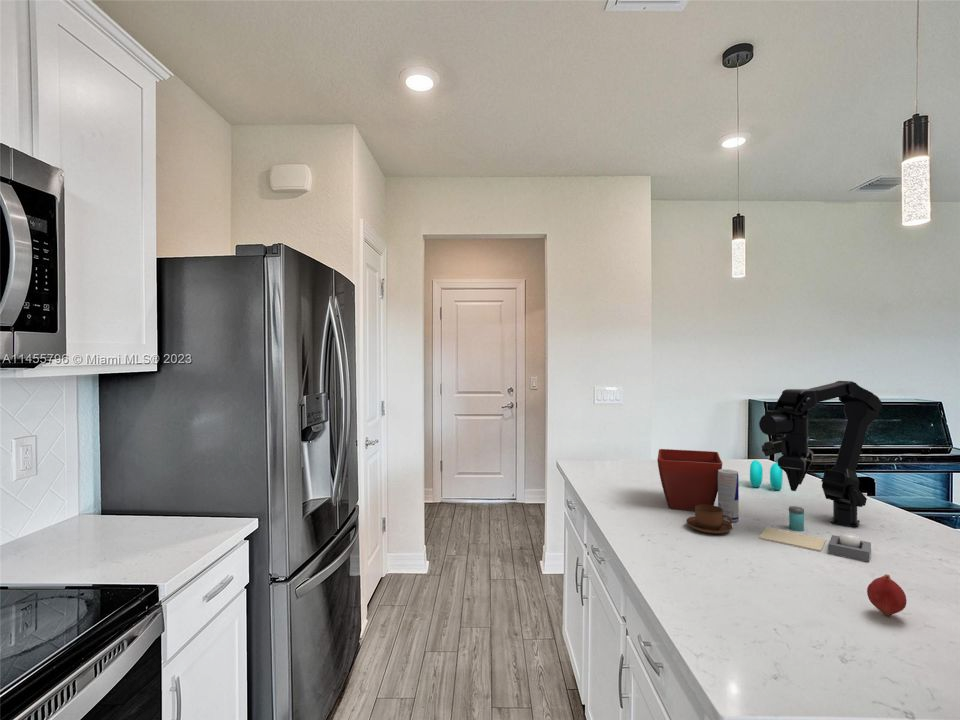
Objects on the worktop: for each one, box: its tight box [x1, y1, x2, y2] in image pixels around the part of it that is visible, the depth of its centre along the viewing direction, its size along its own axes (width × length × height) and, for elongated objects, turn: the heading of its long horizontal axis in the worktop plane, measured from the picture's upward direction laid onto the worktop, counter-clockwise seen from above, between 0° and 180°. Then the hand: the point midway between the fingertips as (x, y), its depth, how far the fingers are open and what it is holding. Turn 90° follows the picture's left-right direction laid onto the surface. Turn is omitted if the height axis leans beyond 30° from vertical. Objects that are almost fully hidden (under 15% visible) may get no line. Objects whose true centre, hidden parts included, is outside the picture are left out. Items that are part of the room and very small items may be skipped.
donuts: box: [749, 460, 784, 491], centre depth 182 cm, size 10×10×10 cm
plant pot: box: [657, 448, 723, 512], centre depth 162 cm, size 19×19×17 cm
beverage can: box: [717, 468, 740, 523], centre depth 147 cm, size 6×6×15 cm
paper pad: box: [758, 526, 827, 553], centre depth 131 cm, size 10×14×1 cm
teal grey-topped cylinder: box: [788, 505, 805, 532], centre depth 139 cm, size 4×4×6 cm
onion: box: [866, 573, 907, 617], centre depth 93 cm, size 6×6×8 cm
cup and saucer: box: [686, 505, 733, 535], centre depth 140 cm, size 12×12×6 cm
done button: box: [839, 532, 861, 548], centre depth 122 cm, size 4×4×3 cm
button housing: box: [827, 534, 872, 563], centre depth 122 cm, size 8×8×2 cm
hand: (796, 487), depth 139 cm, fingers open, 9 cm apart
